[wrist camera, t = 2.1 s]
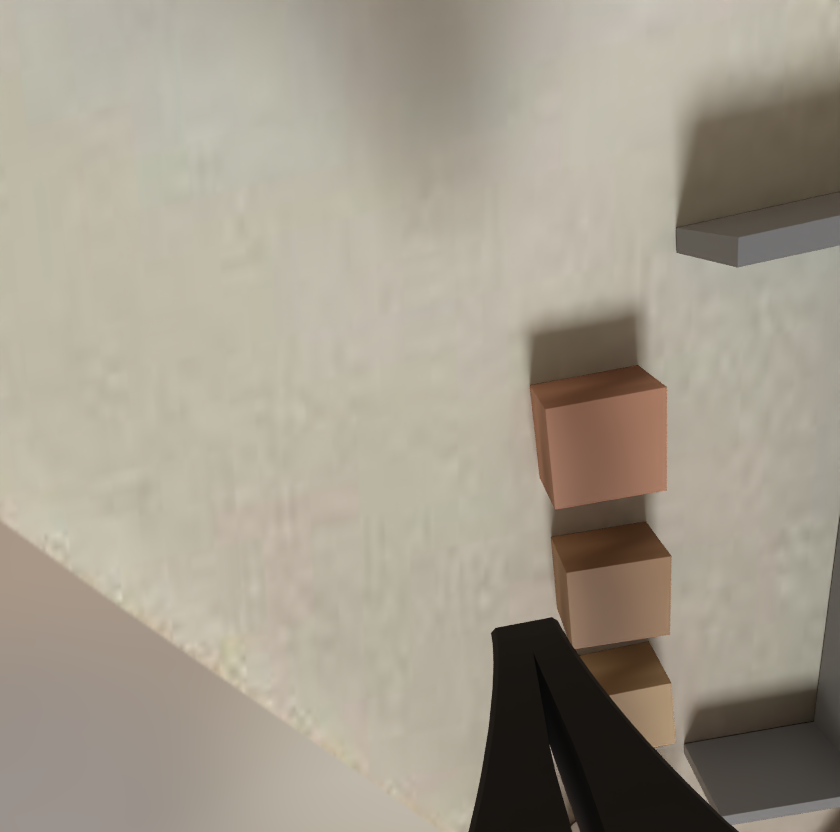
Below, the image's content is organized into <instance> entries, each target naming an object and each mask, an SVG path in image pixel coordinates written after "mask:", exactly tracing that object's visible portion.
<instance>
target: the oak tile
mask: <svg viewBox="0 0 840 832" xmlns="http://www.w3.org/2000/svg"><path fill="white" fill-rule="evenodd" d="M580 658H581V659H582V660H583V662H584V663H585V665H586V666H587V667H588V669H589V670H590V672H591V673H592V674H593V676H594V677H595V678H596V680H597V681H598V682H599V684H600V685H601V686H602V687H603V689H604V690H605V691H606V692H607V694H608V695H609V696H610V697H611V699H612V700H613V701H614V702H615V704H616V705H617V706H618V707H619V709H620V710H621V711H622V712H623V713H624V715H625V716H626V717H627V718H628V719H629V720H630V722H631V723H632V724H633V725H634V726H635V727H636V728H637V730H638V731H639V732H640V733H641V734H642V735H643V736H644V738H645V739H646V740H647V741H648V742H649V743H650V744H651V745H652V747H653V748H654V747H659V746H664V745H669V744H675V743H676V738H675V725H674V711H673V698H672V684H671V681H670V680H669V678H668V676H667V674H666V672H665V670H664V669H663V667H662V665H661V663H660V661H659V659H658V658H657V656H656V654H655V652H654V650H653V648H652V647H651V645H650V643H649V641H648V642H643V643H639V644H634V645H629V646H624V647H619V648H614V649H609V650H605V651H600V652H595V653H590V654H585V655H580Z"/></svg>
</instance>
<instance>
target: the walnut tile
mask: <svg viewBox="0 0 840 832" xmlns="http://www.w3.org/2000/svg"><path fill="white" fill-rule="evenodd" d="M551 543H552V554H553V566H554V577H555V588H556V599H557V609H558V612H559V615H560V617H561V620H562V623H563V626H564V628H565V631H566V634H567V636H568V639H569V641H570V643H571V644H572V646H573V647H574V649H580V648H586V647H593V646H599V645H606V644H612V643H619V642H625V641H632V640H638V639H644V638H651V637H657V636H664V635H670V604H671V555H670V554H669V552H668V551H667V550H666V548H665V547H664V546H663V544H662V543H661V541H660V540H659V539H658V537H657V536H656V535H655V533H654V532H653V531H652V529H651V528H650V527H649V525H648V524H647V522H641V523H635V524H628V525H622V526H616V527H610V528H604V529H598V530H592V531H586V532H580V533H574V534H567V535H561V536H555V537H551Z"/></svg>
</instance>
